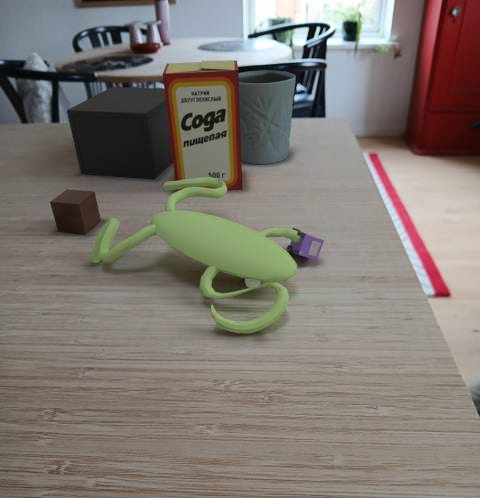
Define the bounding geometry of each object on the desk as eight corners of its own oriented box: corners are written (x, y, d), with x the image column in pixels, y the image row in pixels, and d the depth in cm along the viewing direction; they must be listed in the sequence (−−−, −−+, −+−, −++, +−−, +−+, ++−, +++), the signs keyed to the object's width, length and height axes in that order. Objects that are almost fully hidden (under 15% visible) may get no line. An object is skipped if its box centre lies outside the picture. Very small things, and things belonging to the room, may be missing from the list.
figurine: (192, 203, 70) (188, 163, 67) (362, 266, 55) (368, 218, 52) (76, 255, 59) (64, 210, 56) (247, 350, 44) (245, 297, 41)
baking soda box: (176, 192, 73) (162, 70, 64) (179, 175, 79) (166, 60, 69) (242, 189, 73) (238, 66, 64) (240, 172, 79) (236, 57, 69)
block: (57, 231, 65) (49, 201, 62) (73, 217, 68) (66, 189, 65) (85, 234, 64) (78, 204, 61) (101, 220, 67) (94, 191, 64)
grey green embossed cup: (227, 165, 81) (223, 83, 74) (237, 144, 89) (234, 69, 82) (291, 166, 80) (293, 83, 73) (295, 145, 88) (297, 68, 81)
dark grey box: (121, 144, 92) (111, 86, 86) (187, 148, 89) (182, 88, 83) (80, 173, 81) (66, 110, 75) (154, 179, 78) (145, 113, 72)
